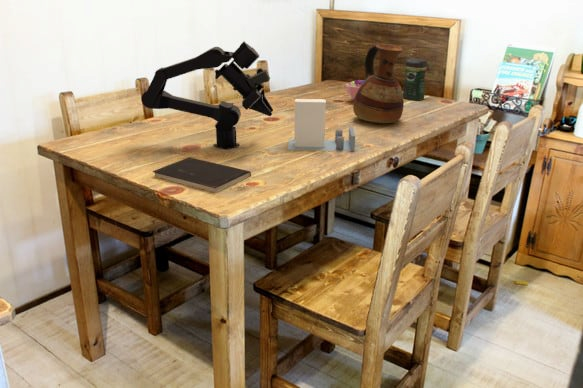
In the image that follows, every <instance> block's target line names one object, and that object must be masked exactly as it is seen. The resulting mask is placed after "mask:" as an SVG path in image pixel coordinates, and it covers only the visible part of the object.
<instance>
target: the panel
mask: <svg viewBox="0 0 583 388" xmlns="http://www.w3.org/2000/svg"><path fill="white" fill-rule="evenodd" d="M326 105H327V101H326V99H322V98H319V99H317V98H313V99H312V98H295V100H294V134H293V135H294V139H293V140H294V146H295V147H324V144H325V140H326V114H327V113H326V112H327V111H326V109H327V106H326Z"/></svg>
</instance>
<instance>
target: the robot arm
mask: <svg viewBox="0 0 583 388" xmlns="http://www.w3.org/2000/svg"><path fill="white" fill-rule="evenodd" d="M259 58H260V54H259V53H258V52H257V50H256V49H255V48H254V47H252V46H250V45H249V43H246V41H245V40H243V42H241V44H240V45H239V47H238V48H237V49H236V50H234V52H233V51H228V50H224V49H223V48H221V47H220V46H214V47H211V48H210V49H208V50H206V51H204V52H203V53H200V54H199V55H198V56H196V57H191V58H190V59H187V60H183V61H181V62H177V63H174V64H172V65H169V66H165V67H160V68H158V69H156V71H155V72H154V76H153V78H152V80H151V82H150V83H149V86H148V88H147V90H146V91H144V93H142V95H141V99H140V101H141V102H142V105H143V106H144V107H145V108H147V109H149V110H153V109H155V110H164V109H165V110H166V109H170V110H175V111H180V112H184V113H187V114H193V115H198V116H202V117H206V118H211V119H213V120H214V121H215V122H216V123H215V125H214V127H215V135H216V136H215V137H216V138H215V139H216V143H215V144H213V145H212V146H213V147H216V148H220V149H224V150H230V149H232V148H235V147H239V146H240V143H237V129H236V125H237V124H238V123H239V122H240V121H239V120H240V119H241V116H242V112H241V109H240V108H239V107H238V105H235V103H234V102H231V103H230V102H227V101H225V100H221V101H220V103H219V104H211V103H207V102H202V101H198V100H193V99H189V98H184V97H180V96H176V95H173V94H171V93H170V92H167V91H166V90H165V88H166V84H167V82H168V80H170V79H172V78H176V77H178V76H181V75H184V74H188V73H192V72H195V71H197V70H205V69H206V70H208V69H214V68H219V67H220V66H221V67H220V68H219V69H215V70H214V74H215V77H214V78H215V80H218V79H219V78H220V76H221V77H223V79H225V80H226V82H227V83H228V84H229V85H231V87H233V88H232V89H233V90H234V91H235V92H236V91H237V92H238V94H240V96H241V98H242V101H241V103H242V104H241V106H242V107H243V108H244V109H245V110H247V111H248V110H252V111H254V112H257V113H260V114H263V115H265V116H267V117H272V115H273V113H272V112H274V109H273V107H272V105H271V104H270V102H269V100H268V99H267V97H266V95H265V93H266V92H265V91H266V88H264V87H265V84H264V83H267V82H269V81H270V79H271V77H270V75H269V72H268V70H267V69H263V68H262V67H260V68H258V69H256V73H255V74H253V75H250V74H249V73H245V72H244V71H243V69H246V70H248V69H249V68H250V67H251V66H252V65H253V64H254V63H255V62H256V61H257V60H258V59H259ZM232 59H233V60H232ZM231 60H232V61H231ZM229 61H231V62H230V63H228V62H229ZM223 63H224V64H223Z"/></svg>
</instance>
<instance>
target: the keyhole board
mask: <svg viewBox="0 0 583 388" xmlns="http://www.w3.org/2000/svg"><path fill="white" fill-rule="evenodd" d="M334 132H335V135H334V140H333V139H330V140H329V139H325V144H324V147H295V146H294V139H290V138H289V140H288V147H287V150H288V151H318V152H319V151H321V152H324V151H326V152H327V151H329V152H331V151H333V152H335V151H336V152H356V148H355V147H356V134H355V130H354V127H353V126H348V140H345V136H343V129H335V131H334Z"/></svg>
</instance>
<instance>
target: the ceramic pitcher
mask: <svg viewBox="0 0 583 388" xmlns="http://www.w3.org/2000/svg"><path fill="white" fill-rule="evenodd" d="M402 52H403V48H402V47H401V46H400V45H395V44H393V43H391V44H390V43H382V42H381V43H378V44H374V45H373V46H371V47H370V48H369V49H368V51H367V53H366V57H365V61H364V70H365V81H364V82H363V83H362V85H361V86H360V88H359V89H358V91H357V93H356V95H355V99H353V104H352V109H353V113H354V114H355V116H356V117H357V118H358V119H360V120H362V121H365V122H369V123H373V124H374V123H375V124H390V123H391V124H392V123H395V122H398V121H399V120H400V119H401V118H402V115H403V111H404V105H405V104H404V103H405V102H404V98H403V90H402V87H401V85H400V83H399V81H397V79H396V78H395V76H394V67H395V64H396V60H397V58H398V56H399V55H400V54H401V53H402ZM377 53H378V55H379V61H378V67H377V70H376V71H374V61H375V57H376V55H377Z"/></svg>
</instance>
